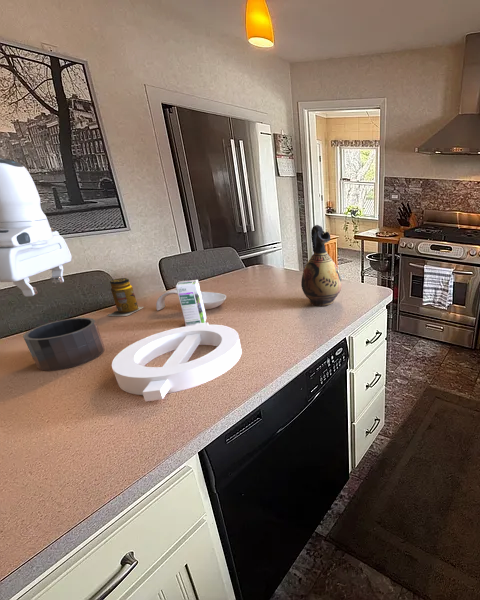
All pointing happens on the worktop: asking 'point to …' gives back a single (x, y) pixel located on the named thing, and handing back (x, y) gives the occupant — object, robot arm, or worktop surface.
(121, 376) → the white circle with bar
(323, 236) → the ceramic jug
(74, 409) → the worktop surface
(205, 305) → the spoon rest
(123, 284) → the condiment
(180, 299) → the syrup box
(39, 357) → the pot
